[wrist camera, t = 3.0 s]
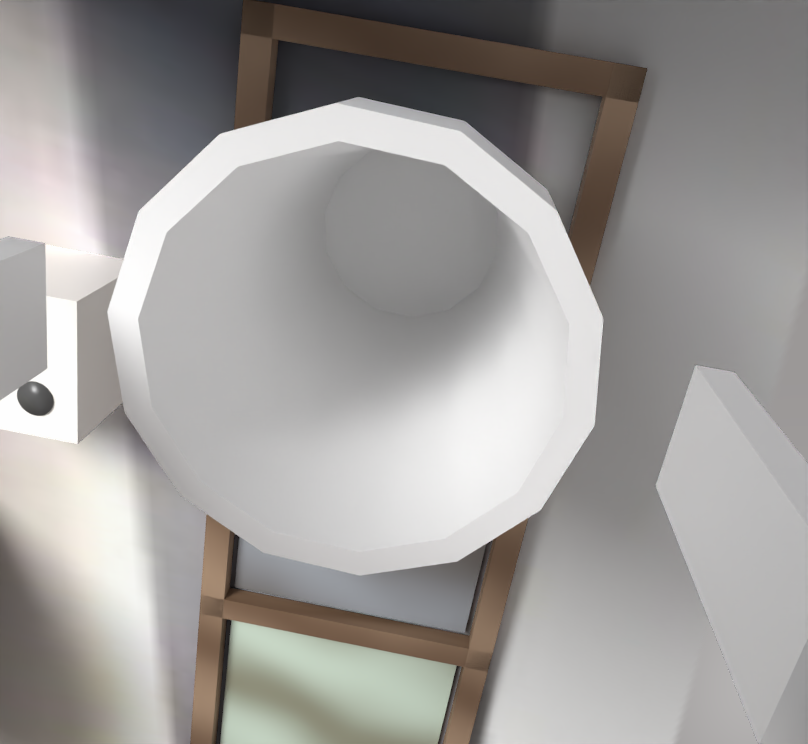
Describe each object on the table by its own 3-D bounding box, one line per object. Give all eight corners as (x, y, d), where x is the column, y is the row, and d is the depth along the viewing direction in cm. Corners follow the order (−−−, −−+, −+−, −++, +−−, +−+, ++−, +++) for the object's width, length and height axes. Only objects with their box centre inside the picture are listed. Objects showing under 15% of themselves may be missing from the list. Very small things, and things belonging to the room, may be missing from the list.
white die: (12, 237, 28) (-82, 272, 24) (144, 261, 28) (75, 302, 23) (17, 361, 30) (-69, 416, 26) (140, 385, 30) (76, 444, 25)
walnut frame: (250, -1, 24) (243, -3, 24) (642, 68, 24) (647, 68, 23) (192, 785, 38) (186, 800, 37) (440, 838, 38) (439, 853, 37)
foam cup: (471, 396, 29) (458, 638, 17) (243, 290, 28) (60, 463, 16) (601, 159, 25) (705, 252, 13) (343, 31, 24) (202, 4, 12)
